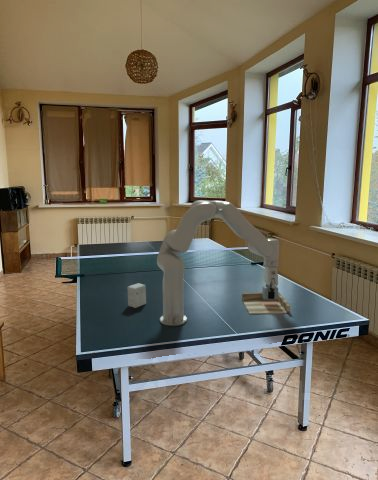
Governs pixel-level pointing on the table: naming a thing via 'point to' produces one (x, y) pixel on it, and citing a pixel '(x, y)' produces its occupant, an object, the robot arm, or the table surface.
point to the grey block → (266, 289)
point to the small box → (136, 295)
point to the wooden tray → (265, 304)
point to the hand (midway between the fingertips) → (269, 296)
